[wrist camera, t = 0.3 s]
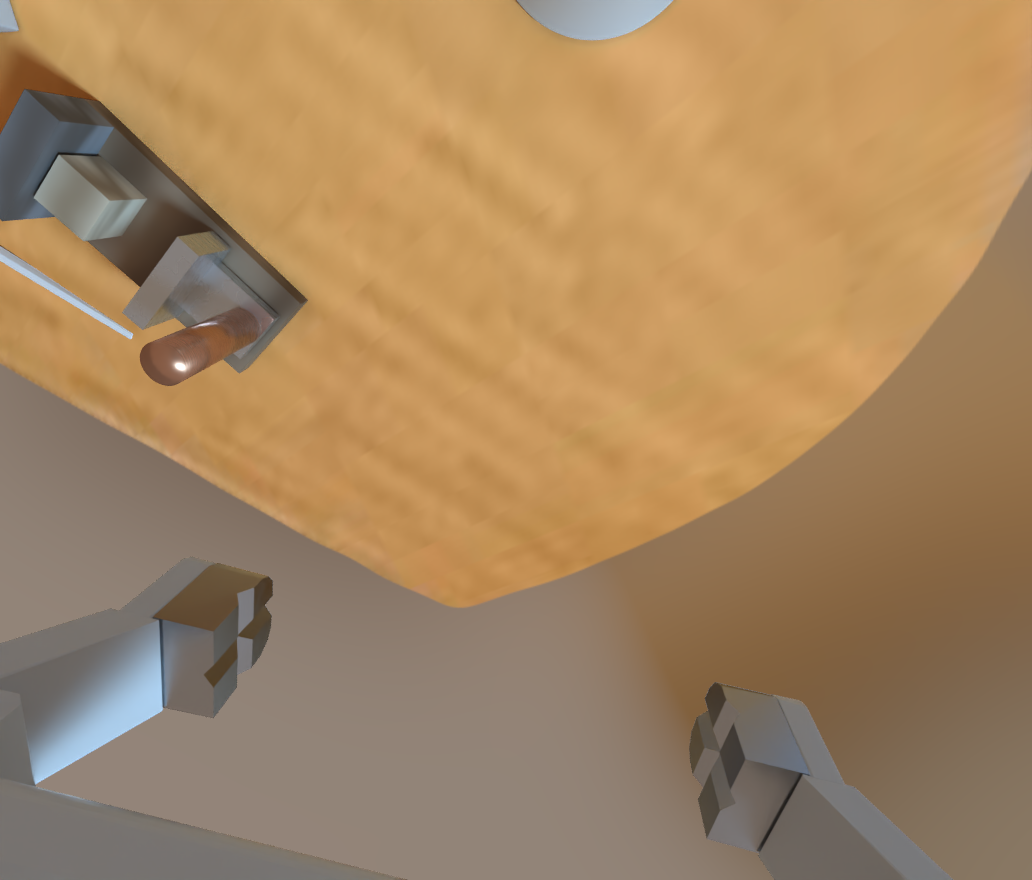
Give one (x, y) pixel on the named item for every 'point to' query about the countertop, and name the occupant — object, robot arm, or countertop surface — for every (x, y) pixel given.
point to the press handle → (197, 310)
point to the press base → (170, 202)
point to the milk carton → (7, 17)
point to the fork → (58, 289)
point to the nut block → (89, 197)
